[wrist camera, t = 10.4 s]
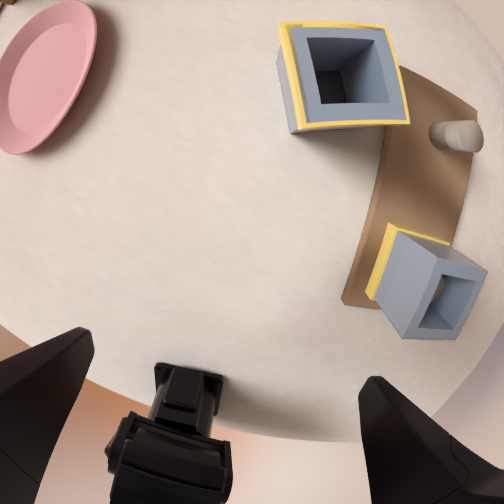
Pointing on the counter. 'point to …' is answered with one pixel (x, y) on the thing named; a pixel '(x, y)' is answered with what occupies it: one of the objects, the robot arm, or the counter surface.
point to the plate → (44, 73)
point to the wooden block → (7, 1)
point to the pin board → (418, 177)
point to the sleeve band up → (352, 71)
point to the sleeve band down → (423, 284)
